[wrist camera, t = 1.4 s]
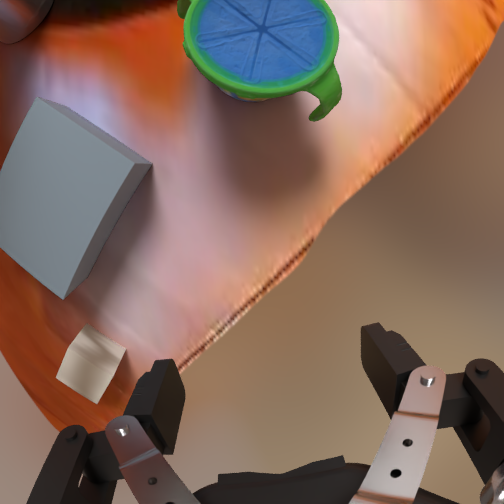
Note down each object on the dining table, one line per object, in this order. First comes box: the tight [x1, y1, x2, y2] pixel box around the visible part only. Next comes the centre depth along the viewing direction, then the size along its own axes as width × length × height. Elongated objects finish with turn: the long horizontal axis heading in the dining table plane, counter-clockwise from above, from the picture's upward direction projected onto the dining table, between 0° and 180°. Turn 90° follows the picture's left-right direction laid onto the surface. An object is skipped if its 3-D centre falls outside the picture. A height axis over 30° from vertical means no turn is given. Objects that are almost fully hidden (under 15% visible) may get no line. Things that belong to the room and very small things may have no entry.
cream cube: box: [56, 323, 126, 404], centre depth 30 cm, size 6×6×6 cm
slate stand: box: [0, 97, 152, 300], centre depth 24 cm, size 12×14×6 cm
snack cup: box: [177, 0, 342, 122], centre depth 21 cm, size 16×10×10 cm
